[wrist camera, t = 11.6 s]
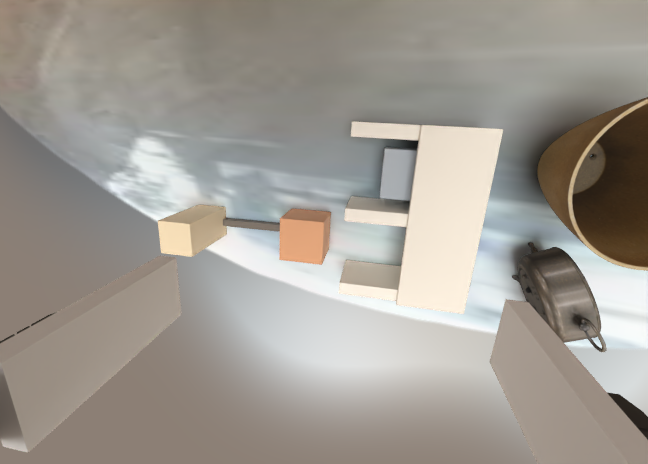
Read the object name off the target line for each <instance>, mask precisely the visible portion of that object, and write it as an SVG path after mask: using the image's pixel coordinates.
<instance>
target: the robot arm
mask: <svg viewBox="0 0 648 464" xmlns="http://www.w3.org/2000/svg"><path fill="white" fill-rule="evenodd" d="M180 315H181V305H180V295H179V283H178V272H177V261H176V258H175V257H167V256H158V257H156V258H155V259H153V260H151V261H149V262H147V263H145V264H144V265H142V266H140V267H138V268H136V269H135V270H133V271H131V272H129V273H127V274H126V275H124V276H122V277H120V278H118V279H116V280H115V281H113V282H111V283H109V284H108V285H106V286H104V287H102V288H100V289H98V290H96V291H95V292H93V293H91V294H89V295H87V296H86V297H84V298H82V299H80V300H78V301H77V302H75V303H73V304H71V305H69V306H67V307H66V308H64V309H62V310H60V311H59V312H56V313H53V314H50V315H48V316H46V317H44V318H42V319H41V320H39V321H37V322H35V323H33V324H32V325H31V327H29V326H28V327H26V328H24V329H23V330H21V331H19V332H17V334H16V335H11V336H10V337H8V338H6V339H4V340H2V341H0V439H1V442H2V445H3V447H7V448H11V449H15V450H19V451H24V452H29V451H31V450H32V449H33V448H34V447H35V446H36V445H37V444H38V443H39V442H40V441H42V440H43V439H44V438H45V437H46V436H47V435H48V434H49V433H50V432H52V430H54V429H55V428H56V427H57V426H58V425H59V424H60V423H62V422H63V421H64V420H65V419H66V418H67V417H68V416H69V415H70V414H72V413H73V412H74V411H75V410H76V409H77V408H78V407H79V406H80V405H81V404H83V403H84V402H85V401H86V400H87V399H88V398H89V397H90V396H91V395H92V394H94V393H95V392H96V391H97V390H98V389H99V388H100V387H101V386H102V385H104V384H105V383H106V382H107V381H108V380H109V379H110V378H111V377H113V376H114V375H115V374H116V373H117V372H118V371H119V370H120V369H121V368H122V367H124V365H126V364H127V363H128V362H129V361H130V360H131V359H132V358H133V357H135V356H136V355H137V354H138V353H139V352H140V351H141V350H142V349H144V348H145V347H146V346H147V345H148V344H149V343H150V342H151V341H152V340H153V339H155V338H156V337H157V336H158V335H159V334H160V333H161V332H162V331H163V330H164V329H166V328H167V327H168V326H169V325H170V324H171V323H172V322H173V321H174V320H176V318H178V317H179V316H180ZM490 364H491V366H492V368H493V370H494V372H495V374H496V376H497V378H498V380H499V383H500V385H501V387H502V389H503V391H504V393H505V395H506V398H507V400H508V402H509V403H510V406H511V408H512V410H513V412H514V414H515V416H516V419H517V421H518V423H519V425H520V427H521V429H522V431H523V434H524V436H525V438H526V440H527V442H528V444H529V446H530V448H531V450H532V453H533V455H534V457H535V459H536V461H537V463H538V464H648V417H647V416H646V415H645V414H644V412H642V411H641V410H640V409H638V408H637V407H635V406H634V405H633V404H632V403H630V402H629V401H627V400H626V399H625V398H623V397H622V396H621V395H619V394H613V393H607V392H606V391H605V390H604V389H603V388H602V387H601V385H600V384H599V383H598V382H597V381H596V380H595V378H594V377H593V376H592V375H591V374H590V373H589V372H588V370H587V369H586V368H585V367H584V366H583V365H582V363H581V362H580V361H579V360H578V359H577V358H576V357H575V355H574V354H573V353H572V352H571V351H570V350H569V348H568V347H567V346H566V345H565V344H564V343H563V342H562V340H561V339H560V338H559V337H558V336H557V335H556V333H555V332H554V331H553V330H552V329H551V328H550V327H549V325H548V324H547V323H546V322H545V321H544V320H543V318H542V317H541V316H540V315H539V314H538V313H537V312H536V310H535V309H534V308H533V307H532V306H531V305H530V303H529V302H523V301H515V300H507V299H506V301H505V304H504V308H503V312H502V316H501V320H500V324H499V328H498V332H497V336H496V340H495V344H494V347H493V351H492V355H491V359H490Z"/></svg>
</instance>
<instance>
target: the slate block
mask: <svg viewBox="0 0 648 464" xmlns="http://www.w3.org/2000/svg"><path fill="white" fill-rule="evenodd" d="M416 156H417V149H412V148H396V147H385V148H384V158H383V167H382V176H381V185H380V198H383V199H395V200H406V201H410V199H411V192H412V184H413V177H414V170H415V163H416Z"/></svg>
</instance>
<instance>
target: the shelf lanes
mask: <svg viewBox="0 0 648 464" xmlns="http://www.w3.org/2000/svg"><path fill="white" fill-rule="evenodd" d="M502 134H503V129H488V128H469V127H450V126H432V125H408V124H389V123H370V122H352V128H351V136H352V137H369V138H386V139H402V140H419V141H418V149H417V156H416V163H415V170H414V177H413V184H412V192H411V199H410V201H401V200H389V199H378V198H367V197H355V196H351V198H350V200H349V202H348V204H347V206H346V208H345V219H344V221H349V222H360V223H370V224H380V225H390V226H400V227H406V235H405V242H404V249H403V256H402V263H401V266H394V265H386V264H377V263H369V262H360V261H352V260H346V262H345V265H344V269H343V272H342V276H341V279H340V284H339V294H346V295H354V296H362V297H369V298H377V299H384V300H392V301H396V304H397V305H400V306H408V307H415V308H422V309H430V310H437V311H445V312H452V313H460V314H464V311H465V306H466V301H467V297H468V292H469V287H470V283H471V278H472V273H473V269H474V264H475V259H476V255H477V250H478V245H479V241H480V236H481V231H482V227H483V222H484V217H485V213H486V208H487V203H488V199H489V194H490V189H491V185H492V180H493V176H494V171H495V166H496V162H497V157H498V152H499V148H500V143H501V138H502Z"/></svg>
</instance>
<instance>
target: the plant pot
mask: <svg viewBox="0 0 648 464" xmlns="http://www.w3.org/2000/svg"><path fill="white" fill-rule="evenodd" d="M593 154H594V156H593V157H590V155H593ZM537 173H538V179H539V183H540V187H541V189H542V192H543V194H544V196H545V198H546V200H547V201H548V203H549V205H550V206H551V208H552V209H553V211H554V212H555V214H556V215H557V216H558V217H559V219H560V220H561V221H562V222H563V223H564V224H565V226H566V227H567V228H568V229H569V230H570V231H571V232H572V233H573V234H574V235H575V236H576V237H577V238H578V239H579V240H580V241H581V242H582V243H584V244H585V245H586V246H587V247H588V248H589V249H590V250H591V251H593V252H594V253H595V254H597V255H598V256H600V257H601V258H603V259H605V260H607V261H609V262H611V263H613V264H616V265H619V266H622V267H626V268H631V269H636V270H647V271H648V97H647V98H644V99H641V100H638V101H635V102H632V103H629V104H627V105H624V106H621V107H618V108H616V109H613V110H611V111H608V112H605V113H603V114H601V115H599V116H596V117H594V118H592V119H590V120H588V121H586V122H584V123H582V124H580V125H578V126H576V127H575V128H573V129H571V130H570V131H568V132H567V133H565V134H564V135H562V136H561V137H559V138H558V139H557V140H556V141H554V142H553V143H552V144H551V145H550V146H549V147H548V148H547V149H546V150H545V151H544V153H543V154H542V156H541V158H540V160H539V163H538V168H537Z"/></svg>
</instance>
